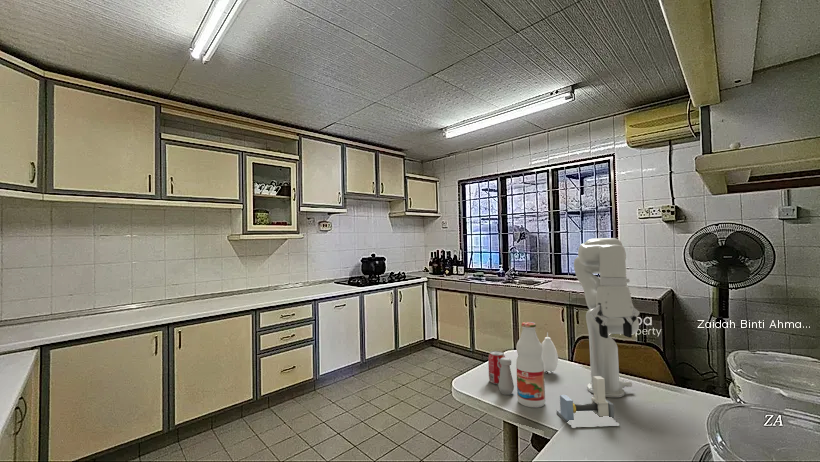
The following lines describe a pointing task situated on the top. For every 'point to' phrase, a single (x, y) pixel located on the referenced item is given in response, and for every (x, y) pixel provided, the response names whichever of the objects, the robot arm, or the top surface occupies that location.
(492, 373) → the soda can
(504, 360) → the salt shaker
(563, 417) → the blue block with rod
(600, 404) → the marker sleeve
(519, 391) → the fruit juice
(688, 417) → the top surface
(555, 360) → the sauce bottle
